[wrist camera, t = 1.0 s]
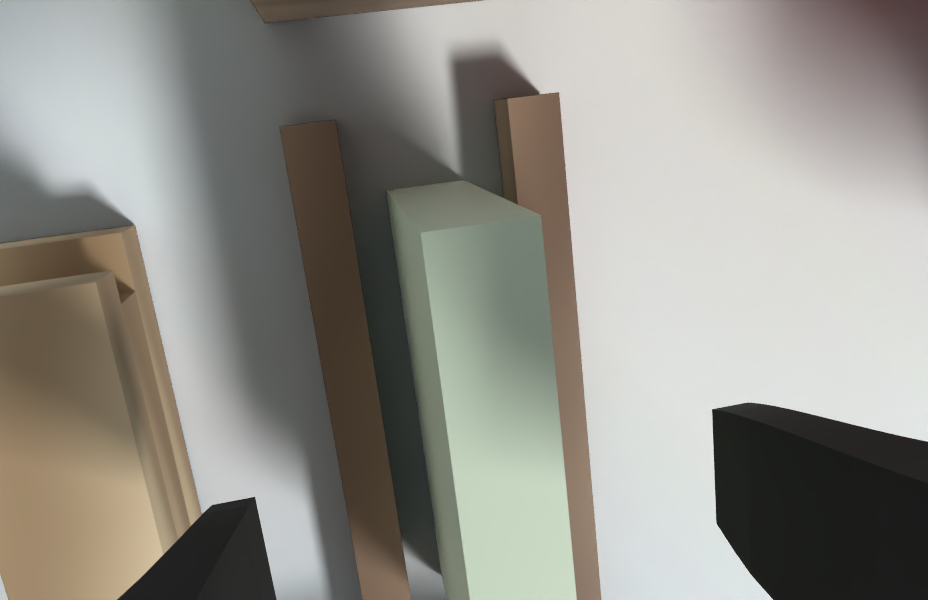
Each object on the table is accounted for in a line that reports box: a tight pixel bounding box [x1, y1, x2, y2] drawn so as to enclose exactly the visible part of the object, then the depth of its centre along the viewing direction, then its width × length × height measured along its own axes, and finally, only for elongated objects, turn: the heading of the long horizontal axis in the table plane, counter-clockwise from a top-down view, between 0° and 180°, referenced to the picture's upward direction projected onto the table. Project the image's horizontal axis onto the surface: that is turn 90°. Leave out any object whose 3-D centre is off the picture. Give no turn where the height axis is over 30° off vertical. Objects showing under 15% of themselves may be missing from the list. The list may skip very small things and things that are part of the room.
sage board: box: [386, 180, 577, 600], centre depth 14 cm, size 2×9×6 cm, turn 6°
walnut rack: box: [250, 0, 601, 600], centre depth 14 cm, size 5×18×4 cm, turn 7°
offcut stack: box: [0, 225, 202, 600], centre depth 14 cm, size 3×9×3 cm, turn 7°
